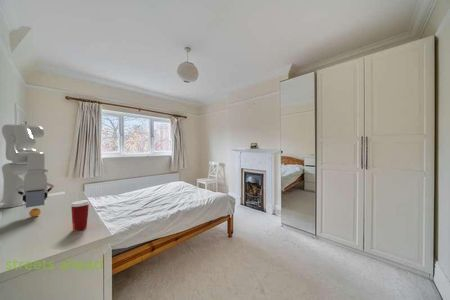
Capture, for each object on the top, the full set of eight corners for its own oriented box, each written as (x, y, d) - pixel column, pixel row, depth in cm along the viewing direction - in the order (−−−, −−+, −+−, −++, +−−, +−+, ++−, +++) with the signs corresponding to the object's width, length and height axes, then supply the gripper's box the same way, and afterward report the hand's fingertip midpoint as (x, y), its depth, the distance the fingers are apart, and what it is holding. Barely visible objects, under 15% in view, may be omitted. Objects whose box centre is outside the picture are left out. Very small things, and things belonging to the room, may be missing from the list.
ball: (28, 213, 105) (28, 219, 107) (41, 211, 109) (40, 217, 110) (29, 207, 108) (29, 213, 110) (41, 205, 112) (40, 211, 113)
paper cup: (92, 226, 96) (93, 200, 96) (79, 232, 88) (80, 204, 89) (79, 225, 97) (80, 199, 97) (65, 231, 89) (66, 203, 89)
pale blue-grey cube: (26, 204, 110) (26, 190, 110) (44, 202, 115) (44, 188, 115) (25, 207, 104) (25, 192, 104) (44, 204, 110) (44, 190, 110)
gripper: (54, 170, 119) (54, 196, 119) (14, 172, 106) (14, 202, 106) (55, 171, 114) (55, 198, 114) (13, 173, 101) (13, 204, 101)
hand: (35, 200), depth 110 cm, fingers closed on pale blue-grey cube, 7 cm apart
